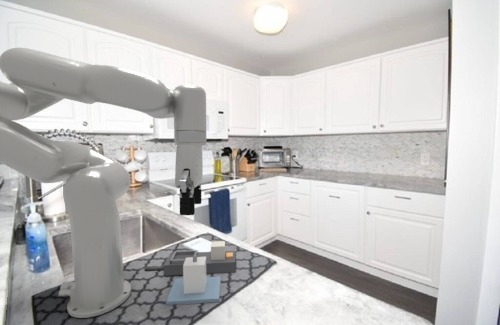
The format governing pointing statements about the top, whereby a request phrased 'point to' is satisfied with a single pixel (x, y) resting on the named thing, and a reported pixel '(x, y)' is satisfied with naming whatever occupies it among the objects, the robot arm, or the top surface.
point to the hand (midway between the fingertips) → (191, 208)
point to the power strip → (215, 259)
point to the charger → (194, 275)
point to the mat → (209, 296)
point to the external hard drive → (199, 245)
